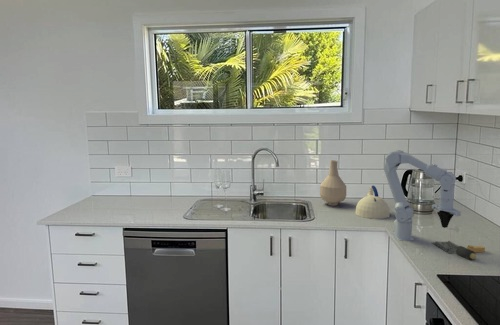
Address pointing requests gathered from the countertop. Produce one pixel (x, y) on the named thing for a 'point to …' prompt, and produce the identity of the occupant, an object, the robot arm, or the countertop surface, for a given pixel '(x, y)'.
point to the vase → (333, 186)
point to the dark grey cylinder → (465, 253)
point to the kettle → (372, 206)
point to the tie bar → (476, 248)
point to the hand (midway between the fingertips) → (444, 227)
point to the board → (446, 246)
